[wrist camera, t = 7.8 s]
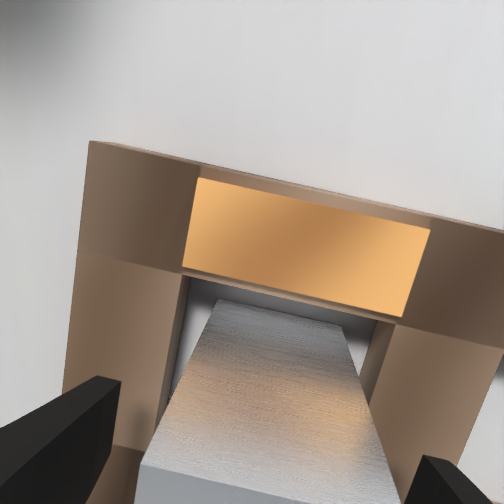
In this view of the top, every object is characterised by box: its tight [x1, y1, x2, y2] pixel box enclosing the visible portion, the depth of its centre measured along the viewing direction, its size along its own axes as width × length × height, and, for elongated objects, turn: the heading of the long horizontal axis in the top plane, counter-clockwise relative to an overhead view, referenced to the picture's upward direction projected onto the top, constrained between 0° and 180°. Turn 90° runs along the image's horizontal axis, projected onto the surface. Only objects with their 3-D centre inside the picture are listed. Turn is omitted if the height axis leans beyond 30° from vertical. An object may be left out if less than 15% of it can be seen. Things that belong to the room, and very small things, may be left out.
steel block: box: [134, 299, 401, 504], centre depth 10 cm, size 4×4×7 cm
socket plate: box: [62, 141, 504, 504], centre depth 12 cm, size 21×12×2 cm, turn 78°
